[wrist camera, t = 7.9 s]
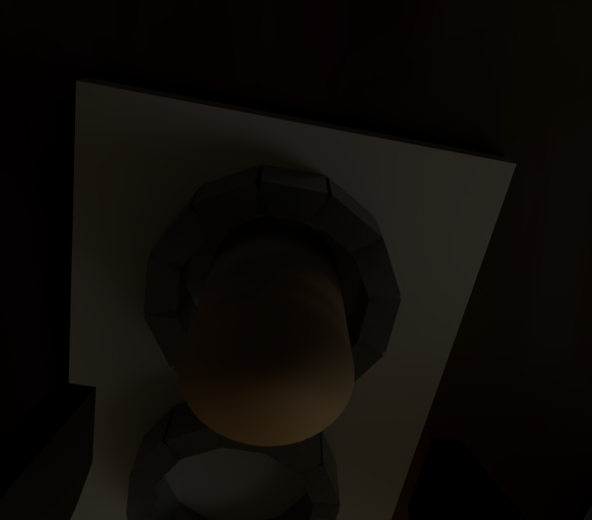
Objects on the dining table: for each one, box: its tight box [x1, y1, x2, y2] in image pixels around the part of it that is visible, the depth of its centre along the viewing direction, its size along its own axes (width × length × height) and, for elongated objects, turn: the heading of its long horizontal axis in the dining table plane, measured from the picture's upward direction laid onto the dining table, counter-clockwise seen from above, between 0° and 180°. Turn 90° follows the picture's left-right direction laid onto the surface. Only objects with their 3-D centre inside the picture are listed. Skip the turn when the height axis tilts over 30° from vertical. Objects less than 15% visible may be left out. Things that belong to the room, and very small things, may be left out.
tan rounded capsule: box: [178, 216, 355, 446], centre depth 16 cm, size 4×4×6 cm
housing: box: [69, 78, 516, 520], centre depth 20 cm, size 14×20×3 cm
